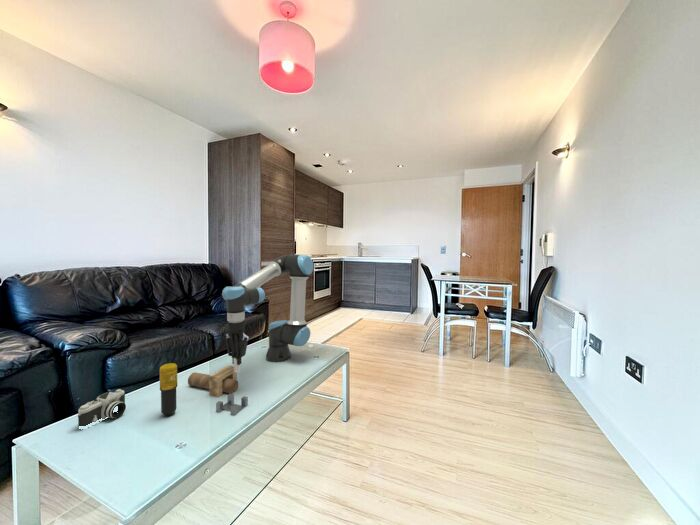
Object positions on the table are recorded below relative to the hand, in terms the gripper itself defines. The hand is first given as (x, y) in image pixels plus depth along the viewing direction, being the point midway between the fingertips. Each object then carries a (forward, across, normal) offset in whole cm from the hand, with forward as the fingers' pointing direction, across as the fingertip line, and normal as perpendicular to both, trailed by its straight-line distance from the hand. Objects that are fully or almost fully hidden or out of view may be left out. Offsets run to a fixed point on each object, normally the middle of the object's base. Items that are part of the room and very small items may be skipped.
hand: (237, 371), depth 129 cm
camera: (+9, -34, -33) cm, 48 cm away
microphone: (+10, -17, -24) cm, 31 cm away
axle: (+10, -13, 0) cm, 17 cm away
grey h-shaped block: (+10, +8, -13) cm, 18 cm away
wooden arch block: (+10, -7, -1) cm, 12 cm away
